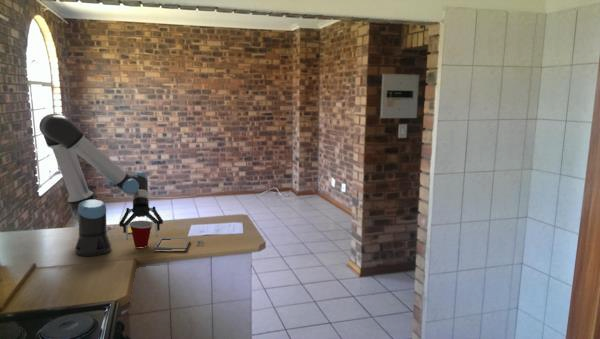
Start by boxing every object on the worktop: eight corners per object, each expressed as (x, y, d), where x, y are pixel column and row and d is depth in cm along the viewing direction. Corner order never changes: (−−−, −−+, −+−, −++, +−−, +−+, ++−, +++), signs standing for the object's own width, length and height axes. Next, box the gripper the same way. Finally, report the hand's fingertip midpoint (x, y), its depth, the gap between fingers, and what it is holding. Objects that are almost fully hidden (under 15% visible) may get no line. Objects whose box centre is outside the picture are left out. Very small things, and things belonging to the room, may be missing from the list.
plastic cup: (148, 251, 201) (148, 226, 199) (126, 249, 201) (125, 225, 200) (156, 243, 212) (156, 220, 210) (135, 242, 212) (134, 219, 210)
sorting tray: (154, 251, 201) (154, 247, 200) (160, 241, 215) (160, 237, 215) (185, 251, 202) (185, 247, 202) (189, 241, 217) (189, 238, 216)
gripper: (165, 202, 223) (168, 238, 212) (114, 205, 213) (114, 243, 202) (166, 195, 217) (169, 231, 206) (113, 197, 208) (113, 235, 196)
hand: (142, 237), depth 204 cm, fingers open, 13 cm apart
